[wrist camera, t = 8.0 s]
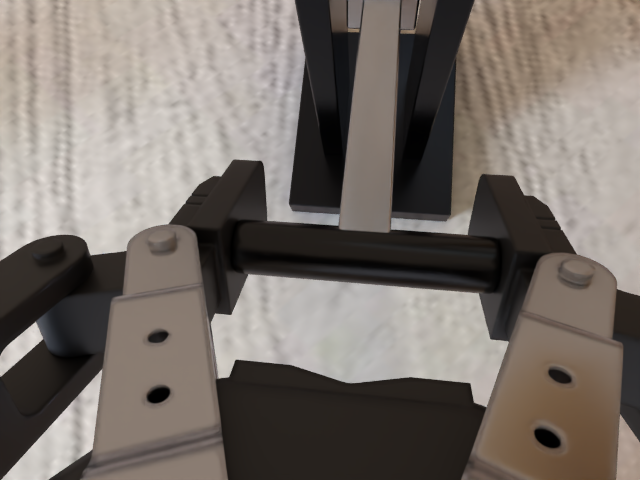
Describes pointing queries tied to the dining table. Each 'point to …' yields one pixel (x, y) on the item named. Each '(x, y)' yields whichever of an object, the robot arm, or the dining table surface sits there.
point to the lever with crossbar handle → (370, 193)
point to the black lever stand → (411, 116)
